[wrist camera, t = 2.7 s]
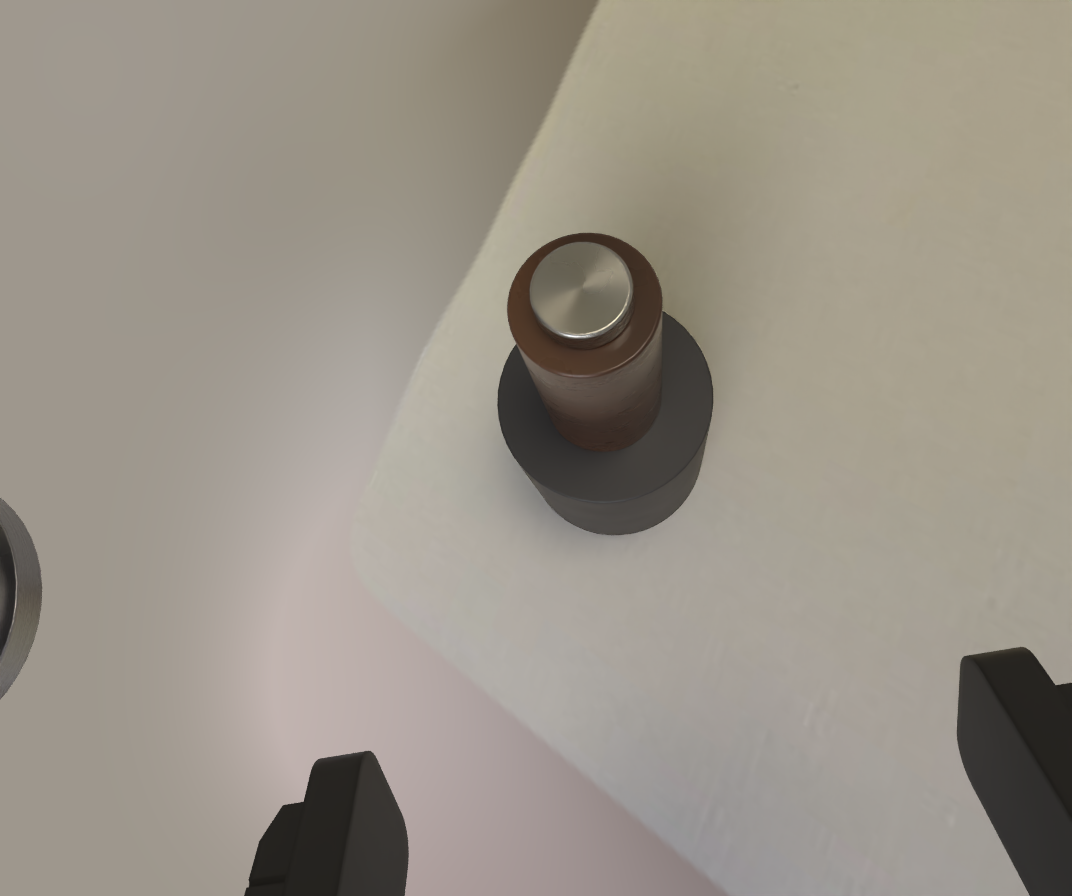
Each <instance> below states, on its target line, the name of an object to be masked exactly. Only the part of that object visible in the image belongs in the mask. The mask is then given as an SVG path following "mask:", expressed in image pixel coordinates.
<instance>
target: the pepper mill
mask: <svg viewBox="0 0 1072 896" xmlns="http://www.w3.org/2000/svg"><path fill="white" fill-rule="evenodd" d="M507 313H508V322H509V326H510V330H511V332H512V335H513V337H514V340H515V342H516V344H517V346H518V348H519V351H520V353H521V355H522V357H523V359H524V362H525V364H526V366H527V368H528V370H529V373H530V375H531V377H532V379H533V381H534V384H535V386H536V388H537V390H538V392H539V395H540V397H541V399H542V401H543V403H544V406H545V408H546V410H547V412H548V414H549V416H550V419H551V421H552V423H553V424H554V426H555V428H556V429H557V430H558V432H559V433H560V434H561V435H562V436H563V437H564V438H565V439H567V440H568V441H569V442H571V443H572V444H574V445H576V446H578V447H580V448H583V449H586V450H590V451H596V452H609V451H615V450H619V449H623V448H625V447H628V446H630V445H631V444H633V443H635V442H636V441H638V440H639V439H640V438H642V437H643V436H644V435H645V434H646V433H647V432H648V431H649V429H650V428H651V427H652V425H653V423H654V422H655V420H656V418H657V415H658V413H659V409H660V405H661V388H662V292H661V287H660V283H659V280H658V277H657V275H656V273H655V271H654V269H653V268H652V266H651V265H650V263H649V262H648V261H647V259H646V258H645V257H644V256H643V255H642V254H641V253H640V252H639V251H638V250H637V249H635V248H634V247H632V246H631V245H629V244H628V243H626V242H624V241H622V240H620V239H617V238H615V237H612V236H609V235H604V234H598V233H578V234H571V235H567V236H564V237H560V238H558V239H556V240H553V241H551V242H549V243H547V244H546V245H544V246H542V247H541V248H540V249H538V250H537V251H536V252H534V253H533V254H532V255H531V256H530V257H529V258H528V259H527V260H526V262H525V263H524V264H523V265H522V266H521V268H520V269H519V271H518V273H517V274H516V276H515V278H514V280H513V283H512V285H511V289H510V292H509V297H508V305H507Z"/></svg>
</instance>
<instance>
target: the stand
mask: <svg viewBox="0 0 1072 896" xmlns="http://www.w3.org/2000/svg"><path fill="white" fill-rule="evenodd" d="M712 409H713V386H712V380H711V374H710V371H709V368H708V364H707V362H706V360H705V357H704V355H703V353H702V351H701V349H700V348H699V346H698V344H697V343H696V341H695V340H694V338H693V337H692V336H691V335H690V334H689V332H688V331H687V330H686V329H685V328H684V327H683V326H682V325H681V324H680V323H678V322H677V321H676V320H675V319H674V318H672V317H671V316H669V315H668V314H666V313H665V312H663V311H662V388H661V405H660V409H659V413H658V415H657V418H656V420H655V422H654V423H653V425H652V427H651V428H650V429H649V431H648V432H647V433H646V434H645V435H644V436H643V437H642V438H640V439H639V440H638V441H636V442H635V443H633V444H631V445H630V446H628V447H625V448H623V449H619V450H615V451H609V452H596V451H590V450H586V449H583V448H580V447H578V446H576V445H574V444H572V443H571V442H569V441H568V440H567V439H565V438H564V437H563V436H562V435H561V434H560V433H559V432H558V430H557V429H556V428H555V426H554V424H553V423H552V421H551V419H550V416H549V414H548V412H547V410H546V408H545V406H544V403H543V401H542V399H541V397H540V395H539V392H538V390H537V388H536V386H535V384H534V381H533V379H532V377H531V375H530V373H529V370H528V368H527V366H526V364H525V362H524V359H523V357H522V355H521V353H520V351H519V348H518V346H517V344H516V345H515V346H514V348H513V350H512V351H511V353H510V355H509V357H508V359H507V361H506V363H505V365H504V368H503V372H502V375H501V378H500V383H499V389H498V416H499V421H500V426H501V430H502V433H503V436H504V438H505V441H506V444H507V445H508V447H509V449H510V451H511V453H512V455H513V456H514V458H515V459H516V460H517V462H518V463H519V465H520V466H521V467H522V469H523V470H524V471H525V473H526V474H527V476H528V477H529V478H530V480H531V481H532V482H533V484H534V485H535V487H536V488H537V489H538V491H539V492H540V493H541V495H542V496H543V498H544V499H545V500H546V502H547V503H548V504H549V505H550V507H551V508H552V509H553V510H554V511H555V512H556V513H557V514H559V515H560V516H561V517H563V518H564V519H565V520H567V521H568V522H570V523H572V524H573V525H575V526H577V527H580V528H582V529H584V530H587V531H591V532H594V533H599V534H606V535H623V534H631V533H635V532H639V531H643V530H646V529H648V528H651V527H653V526H655V525H657V524H658V523H660V522H662V521H664V520H665V519H666V518H668V517H669V516H670V515H672V514H673V513H674V512H675V511H676V510H677V509H678V508H679V507H680V506H681V505H682V504H683V502H684V501H685V500H686V499H687V497H688V496H689V494H690V492H691V490H692V489H693V487H694V485H695V482H696V480H697V477H698V474H699V470H700V467H701V462H702V458H703V453H704V449H705V444H706V440H707V435H708V431H709V426H710V422H711V417H712Z"/></svg>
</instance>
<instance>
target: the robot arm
mask: <svg viewBox="0 0 1072 896" xmlns="http://www.w3.org/2000/svg"><path fill="white" fill-rule="evenodd" d="M957 740H958V746H959V751H960V755H961V759H962V762H963V765H964V768H965V771H966V773H967V776H968V778H969V780H970V782H971V784H972V786H973V788H974V790H975V792H976V794H977V796H978V798H979V800H980V801H981V803H982V805H983V807H984V809H985V811H986V813H987V815H988V817H989V819H990V821H991V822H992V824H993V826H994V828H995V830H996V832H997V834H998V836H999V838H1000V840H1001V841H1002V843H1003V845H1004V847H1005V849H1006V851H1007V853H1008V855H1009V857H1010V859H1011V861H1012V862H1013V864H1014V866H1015V868H1016V870H1017V872H1018V874H1019V876H1020V878H1021V880H1022V882H1023V883H1024V885H1025V887H1026V889H1027V891H1028V893H1029V895H1030V896H1072V683H1068V684H1061V685H1055V684H1054V683H1053V681H1052V680H1051V678H1050V677H1049V675H1048V674H1047V673H1046V671H1045V670H1044V668H1043V667H1042V665H1041V664H1040V663H1039V661H1038V660H1037V658H1036V657H1035V656H1034V655H1033V653H1032V652H1031V651H1030V650H1028V649H1027V648H1024V647H1018V648H1012V649H1005V650H999V651H993V652H987V653H981V654H975V655H969V656H964V657H963V658H962V660H961V664H960V680H959V700H958V719H957ZM408 854H409V853H408V837H407V831H406V826H405V822H404V819H403V816H402V813H401V811H400V809H399V807H398V805H397V802H396V800H395V798H394V796H393V794H392V791H391V789H390V787H389V785H388V783H387V780H386V778H385V776H384V774H383V771H382V770H381V767H380V765H379V763H378V760H377V758H376V756H375V755H374V754H373V753H372V752H371V751H364V752H358V753H352V754H346V755H340V756H334V757H327V758H321V759H318V760H317V761H316V762H315V763H314V765H313V767H312V770H311V774H310V777H309V782H308V786H307V790H306V794H305V798H304V802H300V803H294V804H288V805H283V806H282V808H281V809H280V811H279V812H278V814H277V815H276V817H275V818H274V820H273V821H272V823H271V824H270V826H269V827H268V829H267V831H266V832H265V834H264V835H263V837H262V838H261V840H260V841H259V844H258V848H257V852H256V855H255V859H254V863H253V866H252V870H251V873H250V877H249V887H248V888H246V891H245V895H244V896H404V895H405V887H406V878H407V870H408Z"/></svg>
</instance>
